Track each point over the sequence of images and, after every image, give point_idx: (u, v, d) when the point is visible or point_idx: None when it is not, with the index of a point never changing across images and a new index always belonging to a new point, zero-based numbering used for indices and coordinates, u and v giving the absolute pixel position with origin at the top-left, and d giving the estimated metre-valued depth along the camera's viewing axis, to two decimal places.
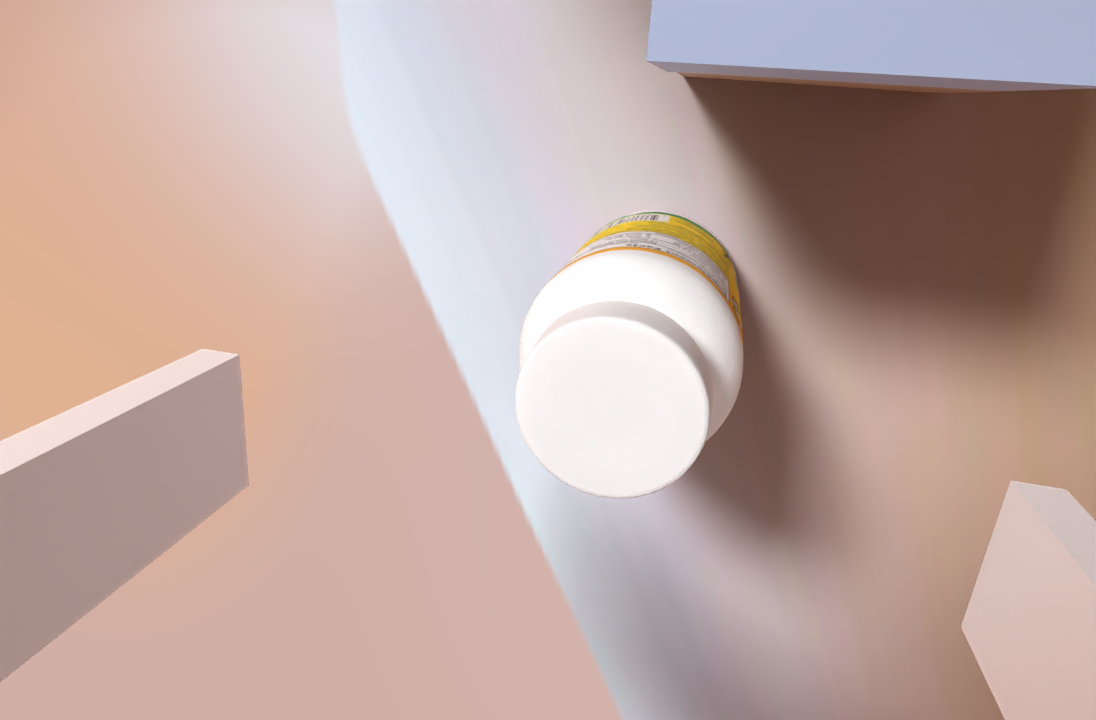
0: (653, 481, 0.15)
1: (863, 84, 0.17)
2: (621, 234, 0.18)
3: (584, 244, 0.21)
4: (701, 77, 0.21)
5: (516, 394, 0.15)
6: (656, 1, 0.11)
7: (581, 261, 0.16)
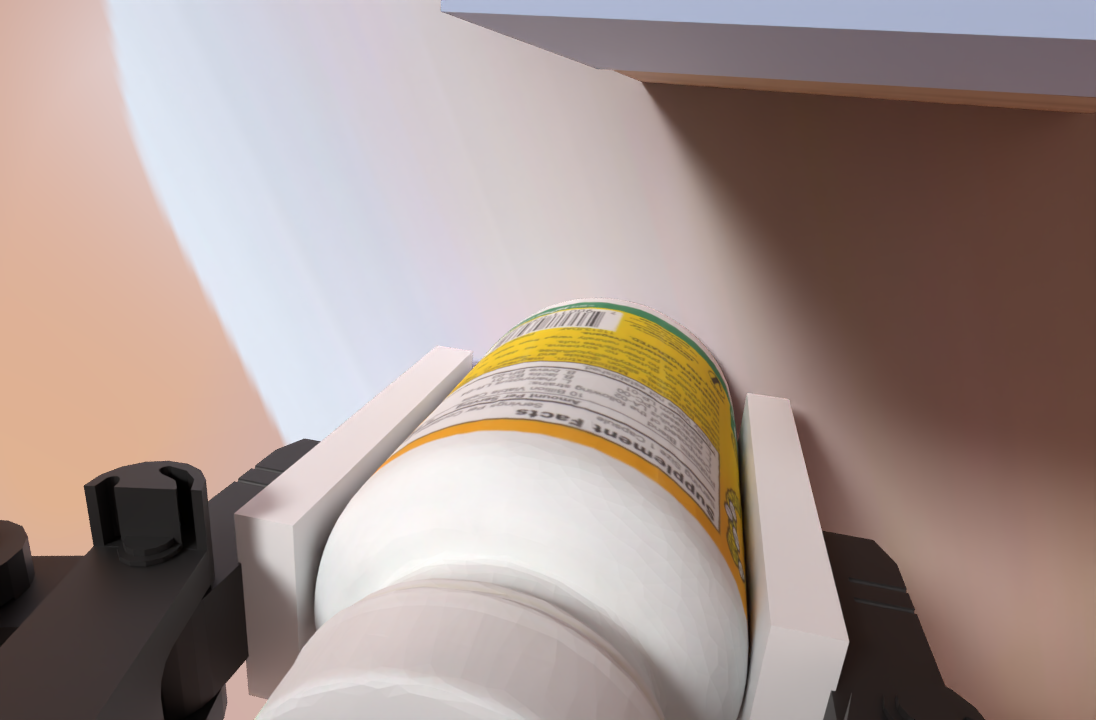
0: None
1: (973, 95, 0.09)
2: (523, 369, 0.10)
3: (479, 361, 0.12)
4: (670, 83, 0.12)
5: None
6: None
7: (420, 453, 0.08)
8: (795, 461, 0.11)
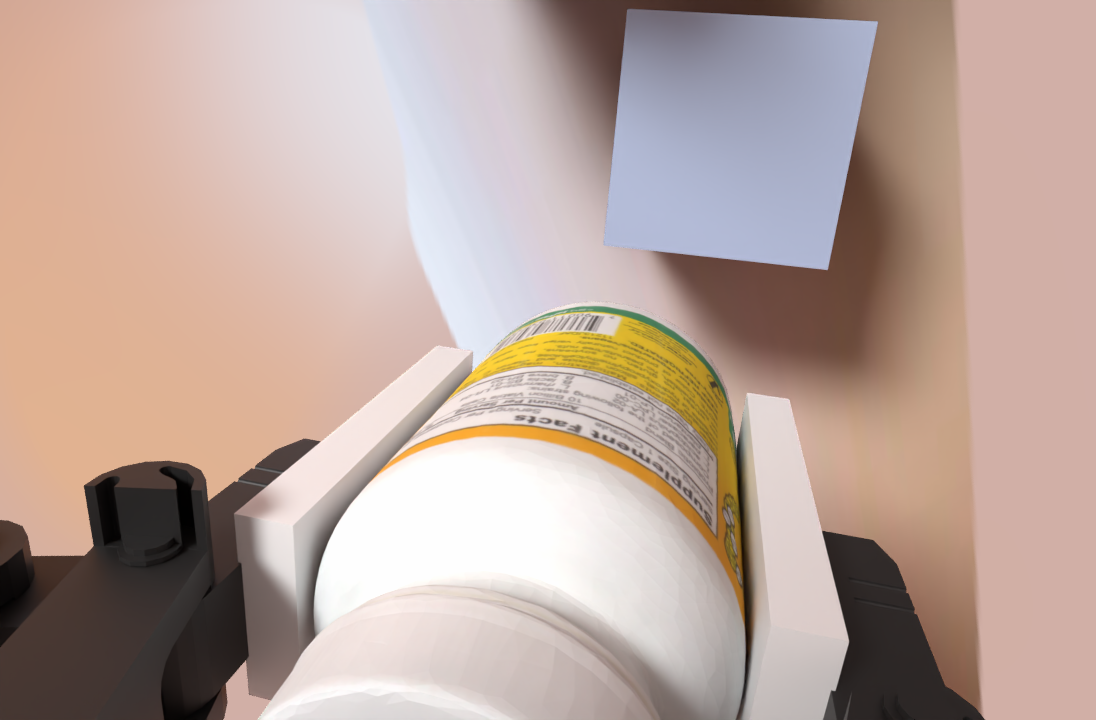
0: None
1: None
2: (522, 374, 0.10)
3: (478, 365, 0.12)
4: None
5: None
6: (608, 218, 0.23)
7: (419, 459, 0.08)
8: (795, 461, 0.11)
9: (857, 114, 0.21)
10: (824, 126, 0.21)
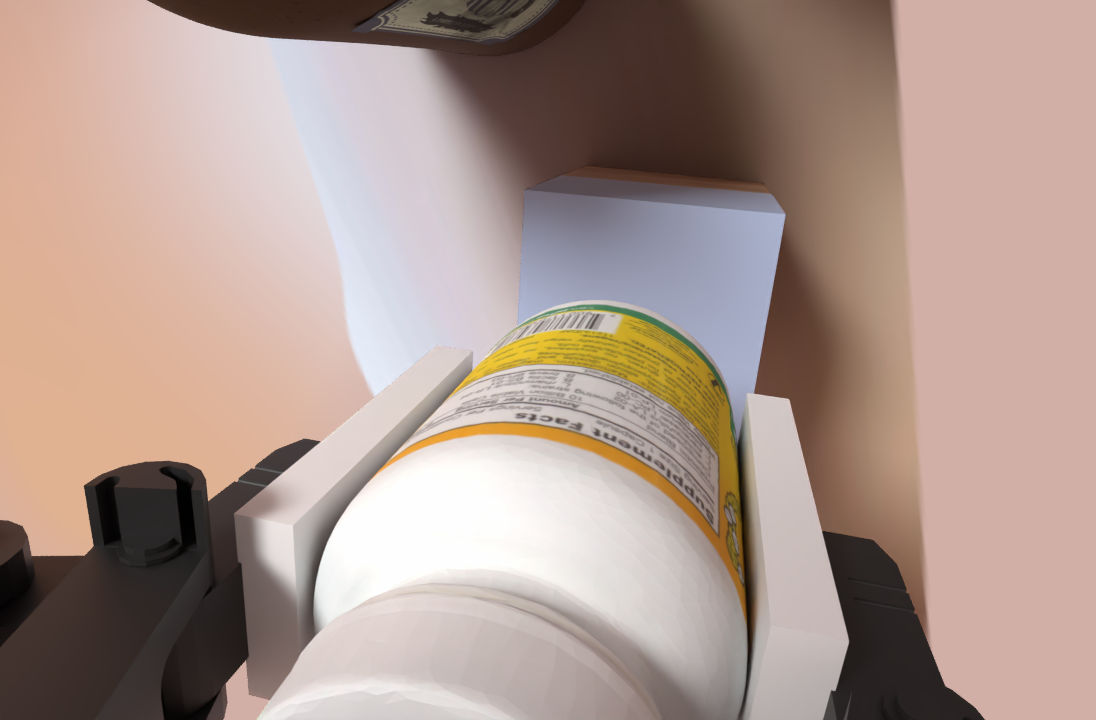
0: None
1: None
2: (522, 372, 0.10)
3: (479, 364, 0.12)
4: None
5: None
6: None
7: (419, 457, 0.08)
8: (795, 461, 0.11)
9: (767, 305, 0.19)
10: (734, 314, 0.20)
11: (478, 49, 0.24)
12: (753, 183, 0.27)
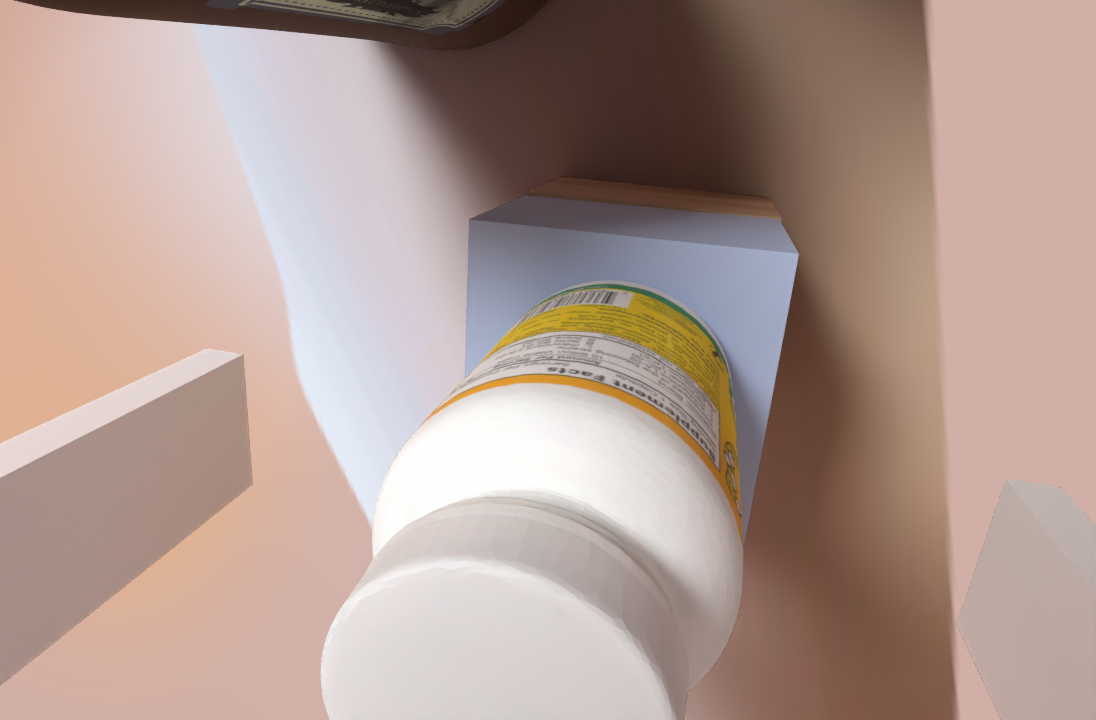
0: None
1: None
2: (549, 337, 0.11)
3: (505, 335, 0.14)
4: None
5: (323, 675, 0.08)
6: None
7: (467, 401, 0.10)
8: None
9: (775, 367, 0.15)
10: (733, 377, 0.16)
11: (428, 40, 0.20)
12: (758, 198, 0.23)
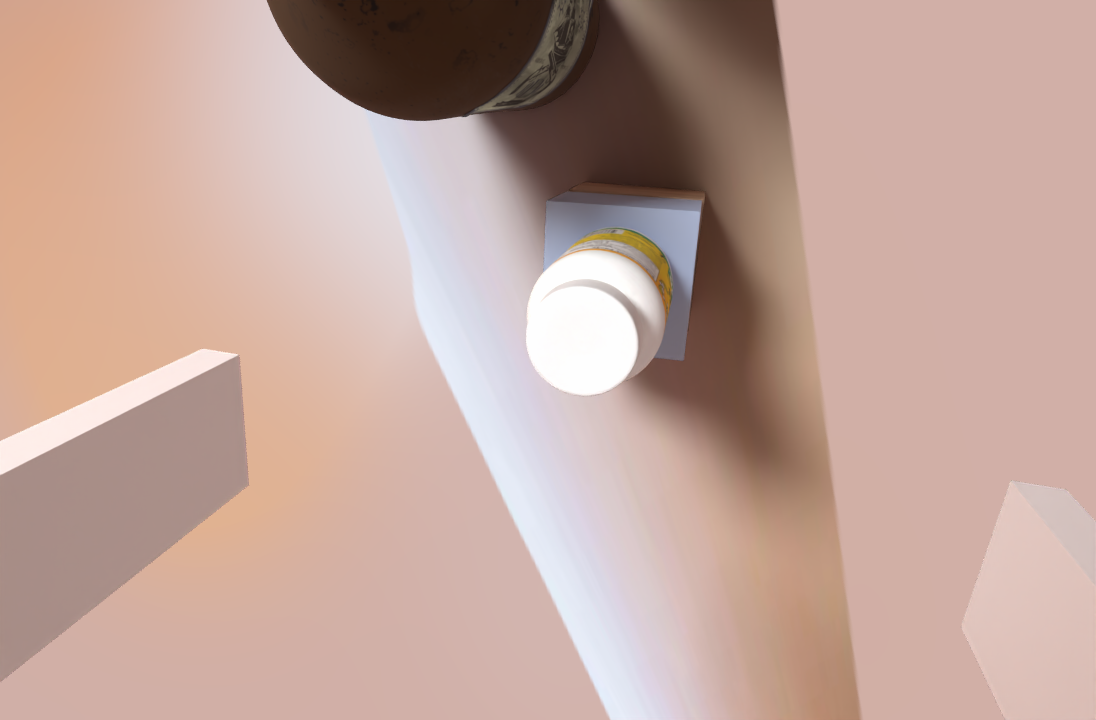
0: (608, 384, 0.25)
1: None
2: (590, 241, 0.29)
3: None
4: None
5: (527, 334, 0.25)
6: None
7: (564, 257, 0.27)
8: None
9: (693, 266, 0.32)
10: (673, 272, 0.33)
11: (513, 109, 0.38)
12: (697, 191, 0.40)
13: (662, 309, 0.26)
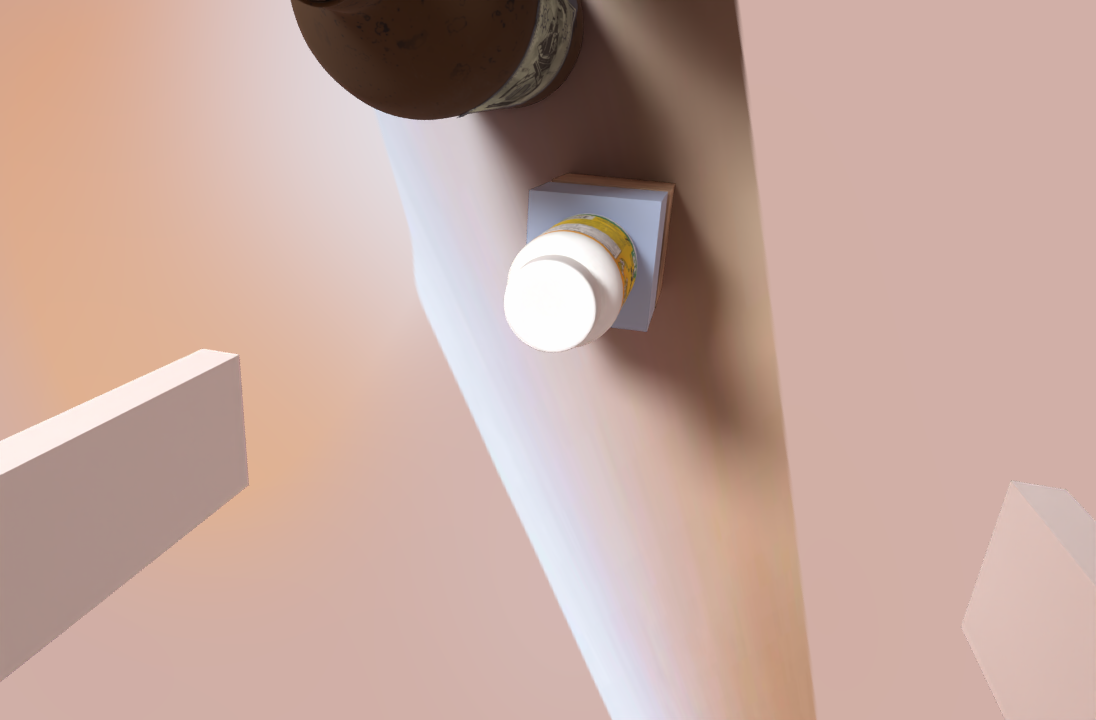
0: (571, 342, 0.30)
1: None
2: (563, 225, 0.34)
3: None
4: None
5: (504, 299, 0.30)
6: None
7: (539, 237, 0.32)
8: None
9: (655, 249, 0.37)
10: (638, 254, 0.38)
11: (505, 108, 0.43)
12: (667, 183, 0.45)
13: (620, 282, 0.31)
